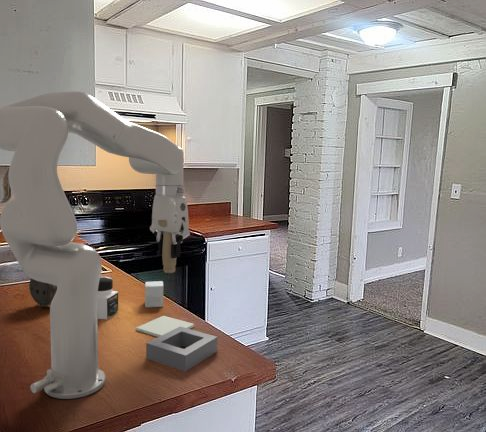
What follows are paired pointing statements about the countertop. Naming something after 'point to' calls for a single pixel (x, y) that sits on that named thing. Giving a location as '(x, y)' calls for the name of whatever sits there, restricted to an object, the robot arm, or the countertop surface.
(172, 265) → the handle
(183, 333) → the pocket holder
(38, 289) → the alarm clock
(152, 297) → the product box
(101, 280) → the medicine bottle
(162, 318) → the pad
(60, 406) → the countertop surface
